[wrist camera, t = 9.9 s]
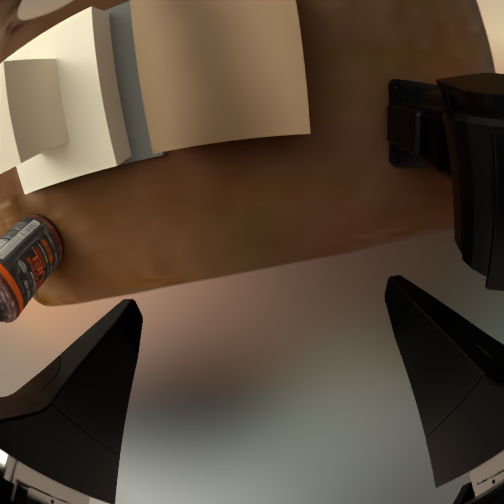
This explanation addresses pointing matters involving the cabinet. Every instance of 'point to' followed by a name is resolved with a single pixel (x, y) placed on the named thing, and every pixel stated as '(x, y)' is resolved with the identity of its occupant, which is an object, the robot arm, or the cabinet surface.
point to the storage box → (219, 70)
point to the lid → (62, 104)
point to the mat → (129, 83)
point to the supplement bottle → (26, 262)
